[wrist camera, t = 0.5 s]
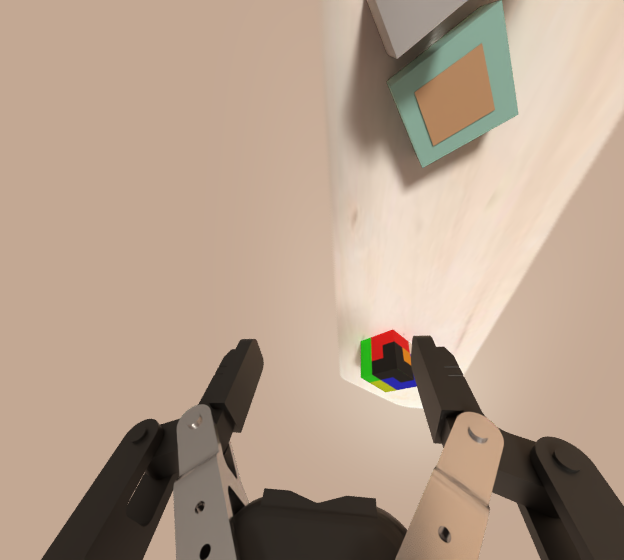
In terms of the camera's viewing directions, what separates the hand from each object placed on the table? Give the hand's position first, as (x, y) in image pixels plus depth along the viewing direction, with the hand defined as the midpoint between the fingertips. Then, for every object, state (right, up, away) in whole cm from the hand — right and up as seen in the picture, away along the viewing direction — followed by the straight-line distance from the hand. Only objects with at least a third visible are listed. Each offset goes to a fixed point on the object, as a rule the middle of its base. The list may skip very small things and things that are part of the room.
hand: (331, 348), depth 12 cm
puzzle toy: (+19, -13, +51) cm, 56 cm away
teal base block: (+13, +24, +14) cm, 31 cm away
